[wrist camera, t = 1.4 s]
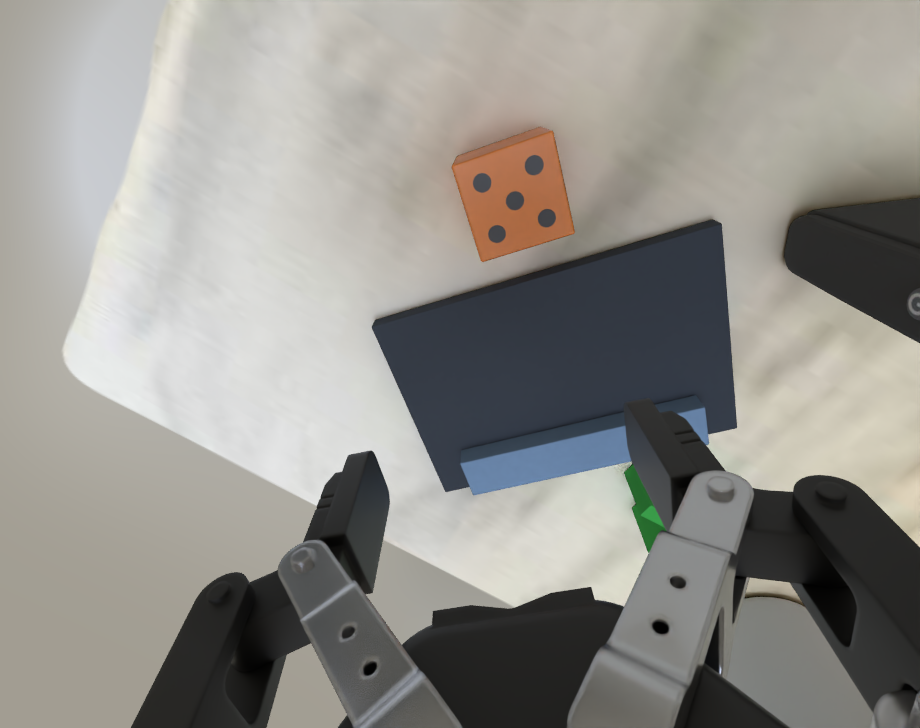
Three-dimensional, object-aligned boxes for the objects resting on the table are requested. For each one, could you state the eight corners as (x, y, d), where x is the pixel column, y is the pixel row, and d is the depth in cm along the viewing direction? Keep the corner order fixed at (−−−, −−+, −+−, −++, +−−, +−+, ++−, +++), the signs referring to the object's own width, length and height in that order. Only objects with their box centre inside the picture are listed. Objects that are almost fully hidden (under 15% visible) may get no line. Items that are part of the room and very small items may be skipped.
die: (456, 156, 28) (451, 166, 23) (541, 126, 27) (553, 129, 22) (481, 239, 30) (481, 263, 25) (561, 214, 29) (575, 234, 24)
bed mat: (374, 319, 33) (365, 337, 30) (713, 219, 29) (735, 229, 26) (446, 482, 39) (444, 507, 37) (729, 418, 35) (748, 442, 33)
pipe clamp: (602, 492, 39) (615, 536, 35) (633, 462, 38) (650, 505, 33) (706, 546, 41) (730, 594, 37) (739, 520, 40) (768, 566, 36)
